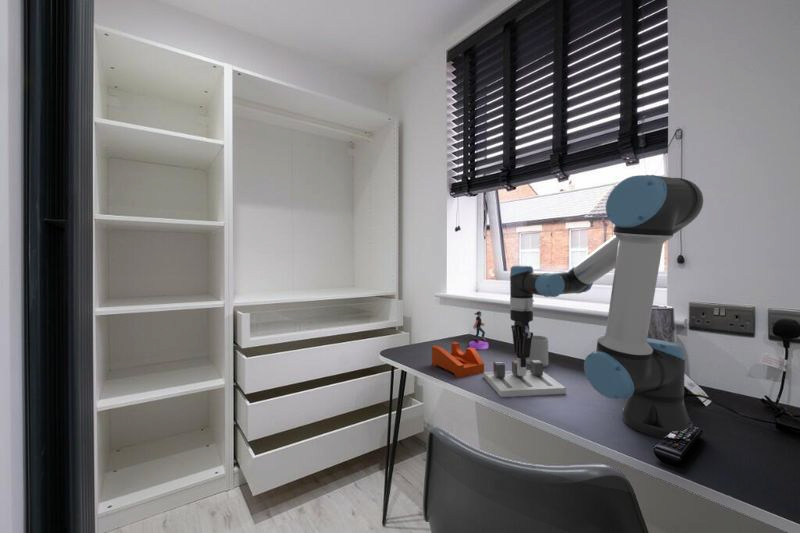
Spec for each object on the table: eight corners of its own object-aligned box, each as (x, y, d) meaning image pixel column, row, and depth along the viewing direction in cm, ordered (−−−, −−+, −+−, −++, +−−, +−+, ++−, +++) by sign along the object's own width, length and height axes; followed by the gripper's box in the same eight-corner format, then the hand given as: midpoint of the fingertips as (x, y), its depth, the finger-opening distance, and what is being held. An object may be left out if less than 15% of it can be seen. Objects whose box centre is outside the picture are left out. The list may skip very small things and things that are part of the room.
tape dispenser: (432, 365, 145) (431, 346, 145) (455, 360, 151) (455, 342, 151) (459, 378, 129) (458, 357, 129) (484, 372, 135) (483, 351, 135)
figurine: (489, 349, 166) (489, 312, 165) (470, 349, 167) (469, 312, 166) (486, 344, 175) (486, 309, 175) (468, 344, 176) (468, 309, 176)
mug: (536, 359, 150) (536, 334, 149) (552, 364, 142) (552, 338, 142) (516, 363, 144) (516, 338, 144) (532, 369, 137) (532, 342, 136)
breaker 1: (505, 377, 122) (504, 364, 122) (496, 377, 122) (496, 364, 122) (501, 373, 126) (501, 360, 126) (493, 374, 126) (493, 361, 126)
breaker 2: (524, 376, 123) (523, 363, 123) (515, 376, 123) (515, 363, 123) (519, 372, 127) (519, 360, 126) (511, 373, 126) (511, 360, 126)
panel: (565, 393, 113) (565, 387, 113) (500, 396, 112) (500, 390, 111) (539, 374, 131) (539, 369, 131) (483, 377, 129) (483, 371, 129)
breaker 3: (542, 375, 123) (542, 362, 123) (534, 375, 123) (534, 362, 123) (538, 372, 127) (538, 359, 127) (530, 372, 127) (530, 359, 127)
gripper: (540, 312, 114) (540, 381, 115) (523, 305, 127) (524, 368, 128) (518, 312, 113) (519, 382, 114) (504, 306, 126) (504, 369, 127)
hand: (521, 375), depth 121 cm, fingers closed
